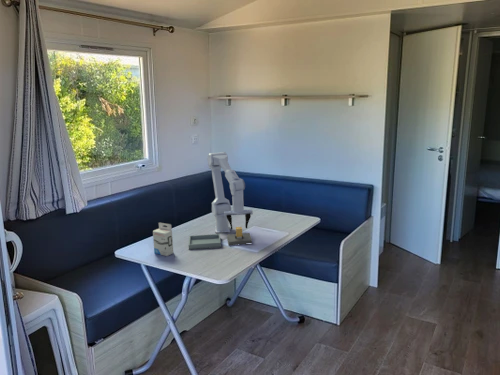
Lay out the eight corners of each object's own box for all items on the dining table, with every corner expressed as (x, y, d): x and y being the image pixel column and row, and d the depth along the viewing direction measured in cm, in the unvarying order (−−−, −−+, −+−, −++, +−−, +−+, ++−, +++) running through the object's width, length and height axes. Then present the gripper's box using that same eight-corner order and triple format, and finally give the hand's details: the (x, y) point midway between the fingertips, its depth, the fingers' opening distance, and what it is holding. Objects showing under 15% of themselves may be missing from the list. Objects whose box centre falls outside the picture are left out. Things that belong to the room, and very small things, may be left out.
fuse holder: (227, 237, 235) (227, 234, 235) (249, 236, 237) (249, 232, 236) (228, 245, 224) (228, 241, 223) (252, 244, 225) (251, 240, 224)
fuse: (236, 239, 232) (235, 227, 230) (241, 239, 232) (241, 226, 231) (236, 242, 228) (236, 229, 227) (242, 242, 228) (242, 229, 227)
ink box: (153, 253, 216) (151, 225, 213) (160, 250, 220) (158, 222, 217) (167, 256, 212) (165, 227, 208) (174, 253, 216) (172, 224, 213)
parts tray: (189, 240, 233) (189, 235, 233) (219, 238, 235) (219, 233, 234) (188, 249, 220) (188, 244, 219) (220, 247, 221) (220, 242, 221)
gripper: (224, 205, 221) (225, 231, 224) (252, 204, 222) (253, 229, 225) (223, 202, 228) (224, 227, 231) (251, 200, 229) (252, 225, 232)
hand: (239, 228), depth 229 cm, fingers open, 7 cm apart
